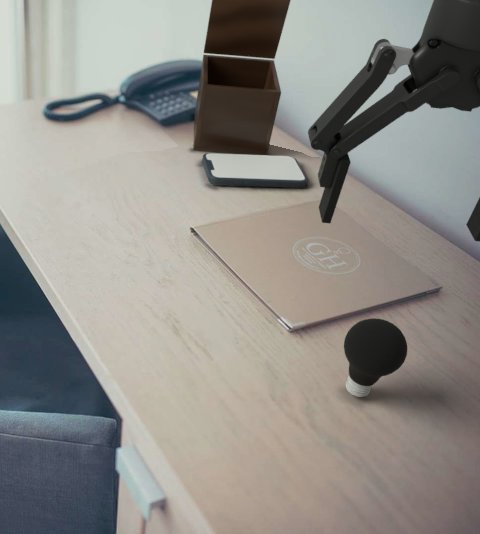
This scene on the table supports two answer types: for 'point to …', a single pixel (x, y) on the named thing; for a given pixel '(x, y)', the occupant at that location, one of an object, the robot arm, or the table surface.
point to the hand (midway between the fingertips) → (398, 224)
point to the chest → (236, 105)
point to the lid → (245, 27)
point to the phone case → (253, 170)
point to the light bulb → (372, 353)
